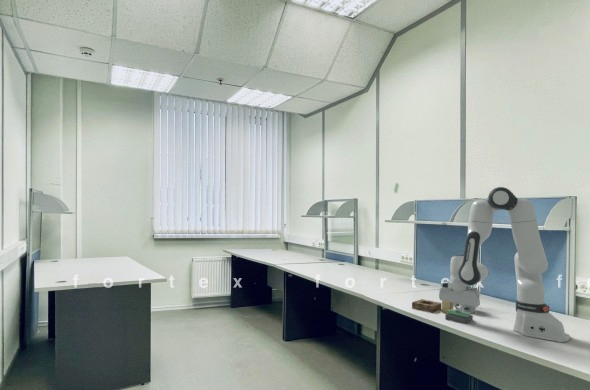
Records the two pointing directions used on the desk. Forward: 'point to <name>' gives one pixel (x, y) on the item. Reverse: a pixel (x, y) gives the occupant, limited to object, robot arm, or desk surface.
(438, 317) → the desk surface
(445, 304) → the block
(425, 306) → the brown square frame
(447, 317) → the block
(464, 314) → the button
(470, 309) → the light bulb box
